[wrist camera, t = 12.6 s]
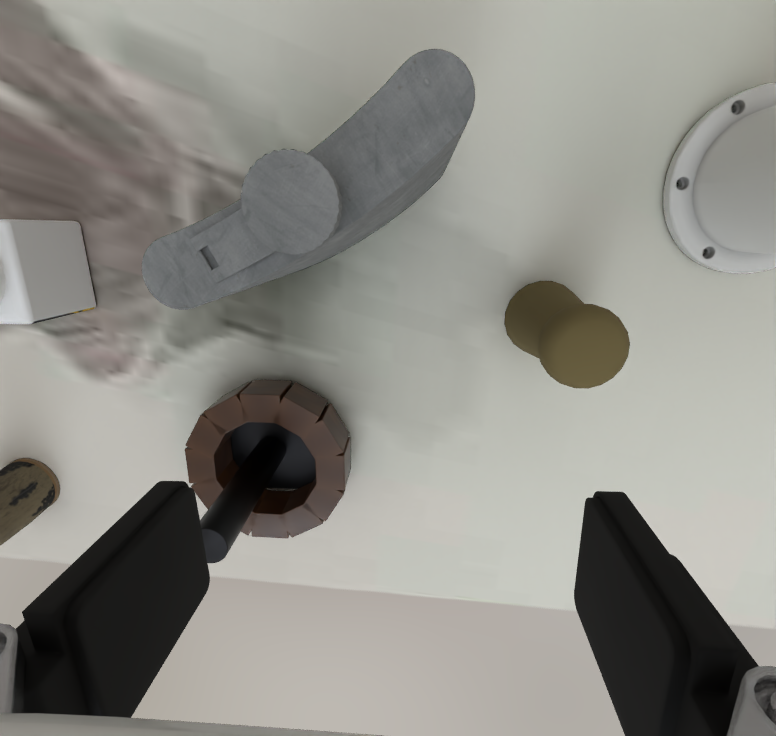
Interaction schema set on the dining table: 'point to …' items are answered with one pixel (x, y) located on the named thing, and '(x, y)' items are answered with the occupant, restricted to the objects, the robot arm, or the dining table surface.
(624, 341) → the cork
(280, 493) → the hoop
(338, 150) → the hip flask
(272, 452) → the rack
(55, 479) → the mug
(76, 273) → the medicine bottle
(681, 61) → the dining table surface
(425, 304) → the dining table surface
